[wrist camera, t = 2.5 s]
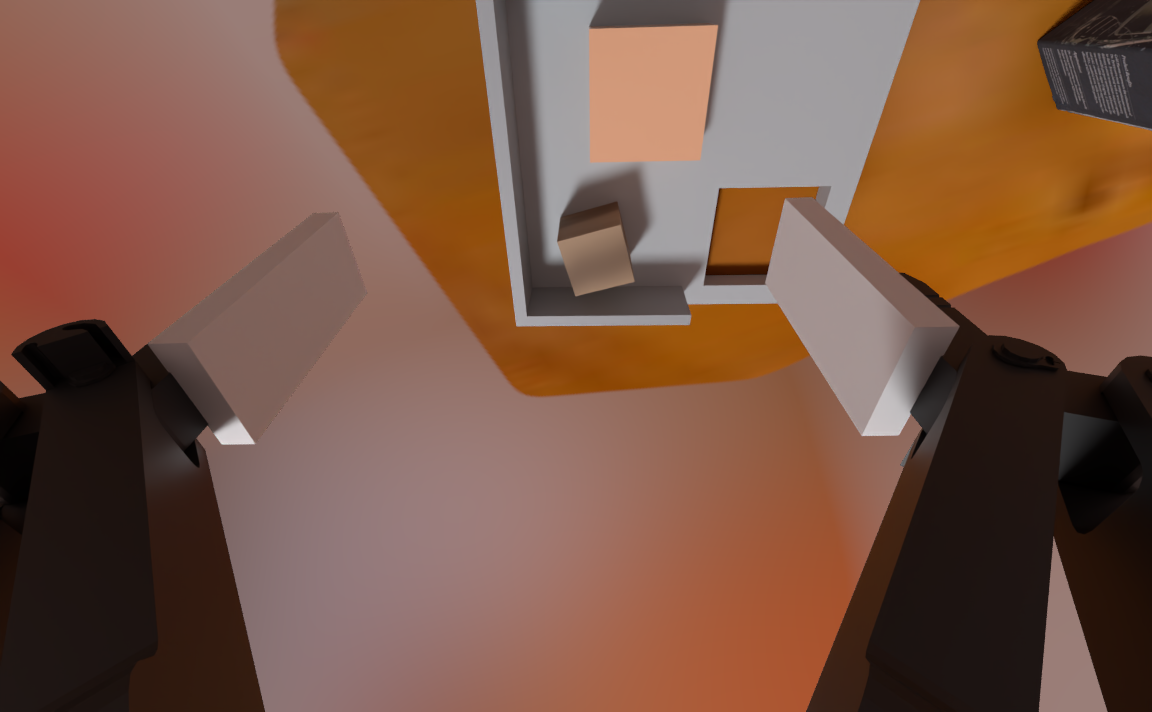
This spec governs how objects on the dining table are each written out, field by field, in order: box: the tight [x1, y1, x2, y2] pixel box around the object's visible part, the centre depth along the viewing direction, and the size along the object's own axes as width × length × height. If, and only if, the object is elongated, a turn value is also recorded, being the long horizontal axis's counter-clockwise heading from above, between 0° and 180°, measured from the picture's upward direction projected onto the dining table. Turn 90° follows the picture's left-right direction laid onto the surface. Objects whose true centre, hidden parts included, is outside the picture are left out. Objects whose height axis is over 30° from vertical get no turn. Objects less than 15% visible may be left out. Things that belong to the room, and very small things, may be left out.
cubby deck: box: [476, 0, 920, 326], centre depth 35 cm, size 26×28×7 cm
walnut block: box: [557, 201, 635, 296], centre depth 39 cm, size 5×5×5 cm
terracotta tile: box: [589, 23, 718, 163], centre depth 33 cm, size 8×8×3 cm
